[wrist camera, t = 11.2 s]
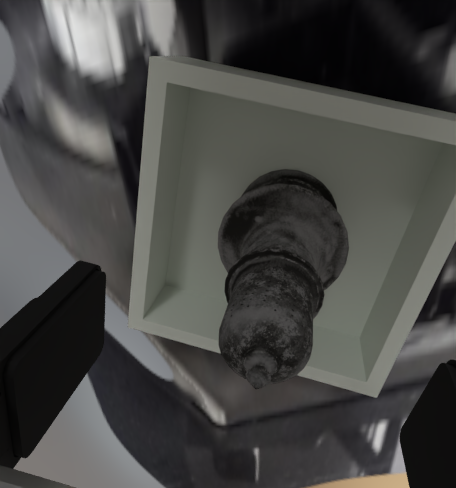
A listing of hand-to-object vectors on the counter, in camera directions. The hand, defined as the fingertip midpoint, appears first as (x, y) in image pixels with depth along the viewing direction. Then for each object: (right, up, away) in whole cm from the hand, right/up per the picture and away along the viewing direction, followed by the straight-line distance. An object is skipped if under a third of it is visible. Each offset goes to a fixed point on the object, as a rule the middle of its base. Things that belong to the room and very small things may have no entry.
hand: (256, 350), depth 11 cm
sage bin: (+2, +5, +11) cm, 12 cm away
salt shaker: (+2, +4, +10) cm, 11 cm away
